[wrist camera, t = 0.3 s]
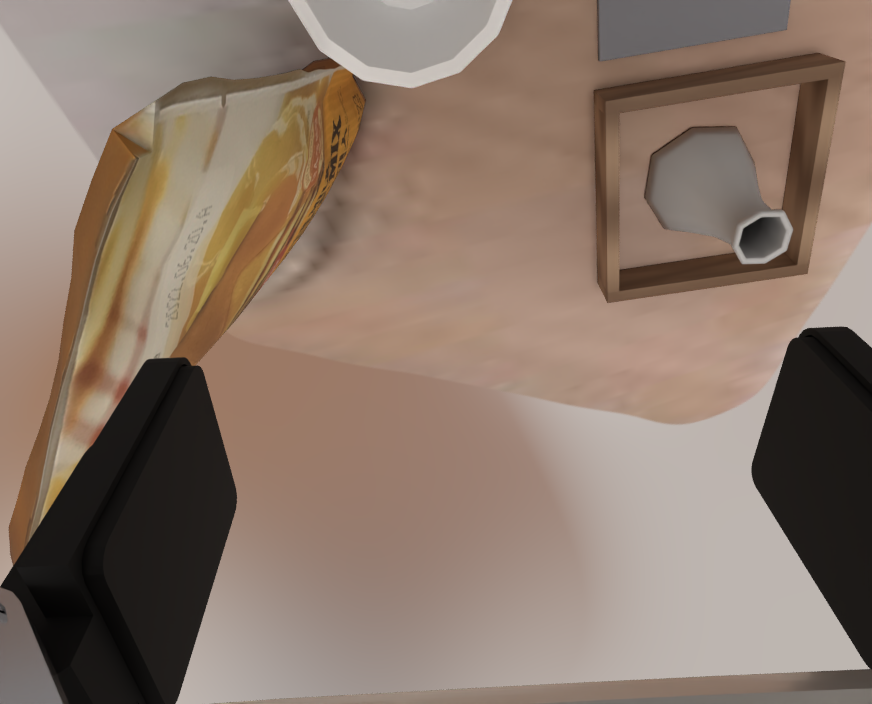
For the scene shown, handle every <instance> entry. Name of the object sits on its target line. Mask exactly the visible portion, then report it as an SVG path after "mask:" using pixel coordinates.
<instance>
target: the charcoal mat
mask: <svg viewBox="0 0 872 704" xmlns="http://www.w3.org/2000/svg"><path fill="white" fill-rule="evenodd" d="M790 1H791V0H597V9H598V60H599V61H606V60H612V59H618V58H623V57H629V56H635V55H641V54H647V53H653V52H659V51H665V50H671V49H676V48H682V47H688V46H694V45H700V44H706V43H712V42H718V41H724V40H730V39H735V38H741V37H747V36H753V35H759V34H765V33H771V32H777V31H783V30H787V24H788V17H789V9H790Z"/></svg>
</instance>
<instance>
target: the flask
mask: <svg viewBox="0 0 872 704" xmlns="http://www.w3.org/2000/svg"><path fill="white" fill-rule="evenodd" d="M645 199H646V200H647V202H648V204H649V205H650V207H651V208H652V210H653V212H654V213H655V215H656V217H657V218H658V220H659V221H660V223H661V225H662V226H663V228H664V229H668V230H675V231H683V232H692V233H697V234H702V235H707V236H713V237H717V238H719V239H721V240H723V241H725V242H727V243H729V244H731V246H732V248H733V250H734V251H735V253H736V255H737V257H738V259H739V260H740V262H741V263H742V264H765V263H767V262H769V261H770V260H772V259H774V258H775V257H777V256H779V255H780V254H782V253H784V252H785V251H787V248H788V245H789V242H790V239H791V235H792V232H793V227H792V225H791V223H790V221H789V219H788V217H787V215H786V213H785V212H784V211H783V210H781V209H774V210H772V209H771V208H770V207H768V206H767V205H766V204H765V203H764V202H763V200H762V199H761V195H760V191H759V187H758V182H757V176H756V169H755V164H754V161H753V159H752V157H751V155H750V153H749V151H748V149H747V147H746V145H745V143H744V141H743V139H742V137H741V135H740V133H739V131H738V129H737V127H705V128H691V129H690V130H688V131H687V132H685V133H684V134H682V135H681V136H679V137H678V138H676V139H675V140H674V141H672V142H671V143H669V144H668V145H666V146H665V147H663V148H662V149H661V150H659V151H658V152H656V153H655V154H653V155H652V158H651V164H650V170H649V176H648V182H647V188H646V194H645Z"/></svg>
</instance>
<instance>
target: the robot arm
mask: <svg viewBox="0 0 872 704" xmlns="http://www.w3.org/2000/svg"><path fill="white" fill-rule="evenodd" d="M752 478H753V481H754V484H755V486H756V488H757V490H758V491H759V493H760V494H761V496H762V498H763V499H764V501H765V502H766V504H767V506H768V507H769V509H770V510H771V512H772V514H773V515H774V517H775V519H776V520H777V522H778V523H779V525H780V527H781V528H782V530H783V531H784V533H785V535H786V536H787V538H788V540H789V541H790V543H791V544H792V546H793V548H794V549H795V551H796V552H797V554H798V556H799V557H800V559H801V560H802V562H803V564H804V565H805V567H806V569H807V570H808V572H809V573H810V575H811V577H812V578H813V580H814V581H815V583H816V584H817V586H818V588H819V590H820V591H821V593H822V594H823V596H824V598H825V599H826V601H827V602H828V604H829V606H830V607H831V609H832V610H833V612H834V614H835V615H836V617H837V619H838V620H839V622H840V623H841V625H842V626H843V628H844V630H845V631H846V633H847V635H848V636H849V638H850V639H851V641H852V643H853V644H854V646H855V648H856V649H857V651H858V652H859V654H860V656H861V657H862V659H863V660H864V662H865V663H866V665H867V666H868V667H869V668H870V669H865V670H842V671H821V672H820V671H819V672H798V673H797V672H796V673H775V674H752V675H729V676H706V677H688V678H687V677H686V678H666V679H647V680H646V679H645V680H625V681H604V682H584V683H567V684H566V683H565V684H546V685H526V686H506V687H486V688H468V689H450V690H449V689H448V690H431V691H414V692H413V691H412V692H395V693H377V694H359V695H340V696H322V697H305V698H286V699H270V700H257V701H244V702H229V703H215V704H872V348H871V347H870V346H869V345H868V344H867V343H866V342H865V341H863V340H862V339H861V338H860V337H859V336H858V335H857V334H856V333H855V332H853V331H852V330H851V329H849V328H848V327H825V328H824V327H823V328H808V329H805V330H803V332H802V333H801V334H800V335H799V337H798V338H794V339H792V340H791V341H790V343H789V345H788V347H787V351H786V354H785V357H784V361H783V364H782V367H781V370H780V374H779V377H778V380H777V383H776V387H775V390H774V394H773V397H772V400H771V403H770V406H769V410H768V413H767V416H766V419H765V423H764V426H763V429H762V432H761V436H760V439H759V442H758V446H757V449H756V453H755V456H754V459H753V462H752ZM236 504H237V493H236V488H235V484H234V480H233V476H232V473H231V469H230V466H229V462H228V458H227V455H226V451H225V448H224V444H223V440H222V437H221V433H220V430H219V426H218V423H217V419H216V415H215V412H214V408H213V405H212V401H211V398H210V394H209V391H208V387H207V384H206V380H205V376H204V373H203V370H202V369H201V367H200V366H191V363H190V362H189V360H188V359H187V358H185V357H176V358H154V359H147V360H146V361H145V362H144V363H143V365H142V367H141V368H140V370H139V371H138V373H137V375H136V376H135V378H134V379H133V381H132V383H131V384H130V386H129V387H128V389H127V391H126V392H125V394H124V396H123V397H122V399H121V400H120V402H119V404H118V405H117V407H116V408H115V410H114V412H113V413H112V415H111V416H110V418H109V420H108V421H107V423H106V424H105V426H104V428H103V429H102V431H101V432H100V434H99V436H98V437H97V439H96V440H95V442H94V444H93V445H92V446H90V447H89V449H88V450H87V451H86V452H85V453H84V455H83V456H82V458H81V459H80V461H79V463H78V464H77V466H76V467H75V469H74V470H73V472H72V474H71V475H70V477H69V478H68V480H67V482H66V483H65V485H64V486H63V488H62V489H61V491H60V493H59V494H58V496H57V497H56V499H55V501H54V502H53V504H52V505H51V507H50V509H49V510H48V512H47V513H46V515H45V516H44V518H43V520H42V521H41V523H40V524H39V526H38V528H37V529H36V531H35V532H34V534H33V535H32V537H31V539H30V540H29V542H28V543H27V545H26V547H25V548H24V550H23V551H22V553H21V555H20V556H19V558H18V559H17V561H16V562H15V564H14V566H13V567H12V569H11V571H10V572H9V574H8V575H7V577H6V578H5V580H4V581H3V583H2V585H1V586H0V704H175V703H176V701H177V699H178V696H179V694H180V690H181V687H182V683H183V681H184V677H185V674H186V670H187V667H188V664H189V661H190V658H191V654H192V651H193V648H194V644H195V641H196V638H197V635H198V632H199V628H200V625H201V622H202V618H203V615H204V612H205V609H206V605H207V602H208V599H209V595H210V592H211V589H212V586H213V582H214V579H215V576H216V573H217V569H218V566H219V563H220V560H221V556H222V553H223V549H224V547H225V543H226V540H227V537H228V534H229V530H230V527H231V524H232V520H233V517H234V513H235V510H236Z"/></svg>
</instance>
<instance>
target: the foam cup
mask: <svg viewBox="0 0 872 704" xmlns="http://www.w3.org/2000/svg"><path fill="white" fill-rule="evenodd" d="M288 1H289V2H290V4H291V6H292V7H293V9H294V11H295V12H296V14H297V15H298V17H299V19H300V20H301V22H302V23H303V25H304V27H305V28H306V30H307V31H308V33H309V35H310V36H311V38H312V40H313V41H314V43H315V44H316V46H317V48H318V49H319V50H320V51H321V52H323V53H324V54H325V55H327V56H328V57H330V58H331V59H333V60H334V61H336V62H337V63H338V64H340V65H341V66H343V67H344V68H346V69H347V70H349V71H350V72H351V73H353V74H354V75H356V76H357V77H359V78H360V79H362V80H363V81H369V82H376V83H382V84H388V85H395V86H401V87H408V88H415V87H418V86H421V85H424V84H427V83H430V82H433V81H436V80H439V79H442V78H445V77H448V76H451V75H454V74H457V73H460V72H461V71H462V70H463V69H464V68H465V67H466V66H467V65H468V64H469V63H470V62H471V61H472V60H473V59H474V58H475V57H476V56H477V55H478V54H479V53H480V52H481V51H482V50H483V49H484V48H486V47H487V46H488V45H489V44H490V43H491V42H492V41H493V40H494V39H495V38H496V37H497V36H498V34H499V32H500V29H501V27H502V25H503V22H504V20H505V17H506V15H507V12H508V10H509V7H510V5H511V2H512V0H288Z"/></svg>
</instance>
